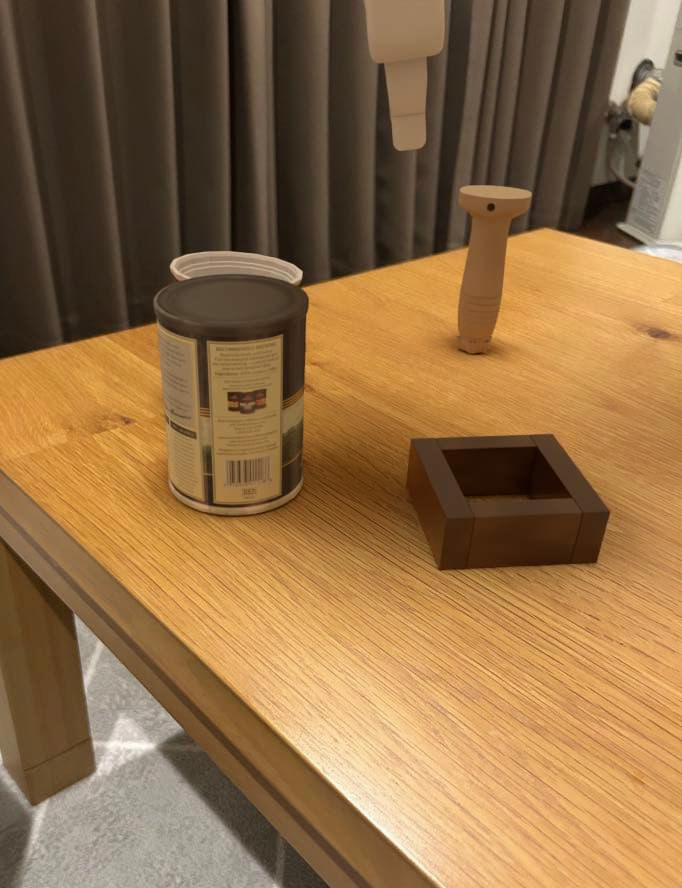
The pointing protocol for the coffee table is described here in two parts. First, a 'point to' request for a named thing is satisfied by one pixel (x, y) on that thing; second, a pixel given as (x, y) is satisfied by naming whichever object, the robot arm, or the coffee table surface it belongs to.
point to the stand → (504, 502)
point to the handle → (485, 260)
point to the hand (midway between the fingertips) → (406, 135)
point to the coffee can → (233, 390)
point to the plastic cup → (233, 266)
